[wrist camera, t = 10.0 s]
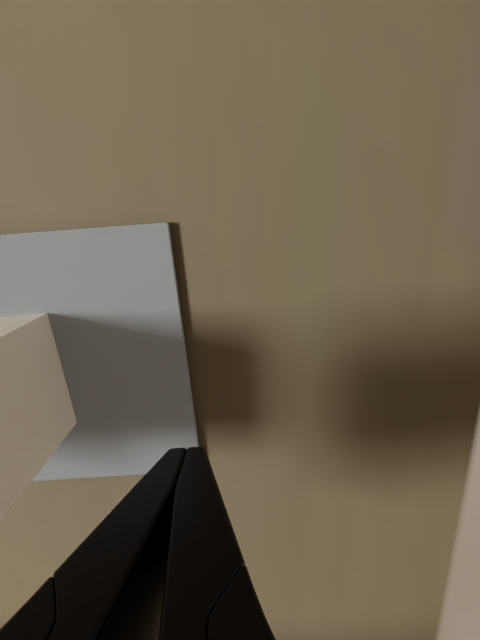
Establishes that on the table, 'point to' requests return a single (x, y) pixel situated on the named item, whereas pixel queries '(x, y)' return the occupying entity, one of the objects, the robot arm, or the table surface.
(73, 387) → the runner mat
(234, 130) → the table surface
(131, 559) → the robot arm
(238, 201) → the table surface
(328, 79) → the table surface
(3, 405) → the domino
